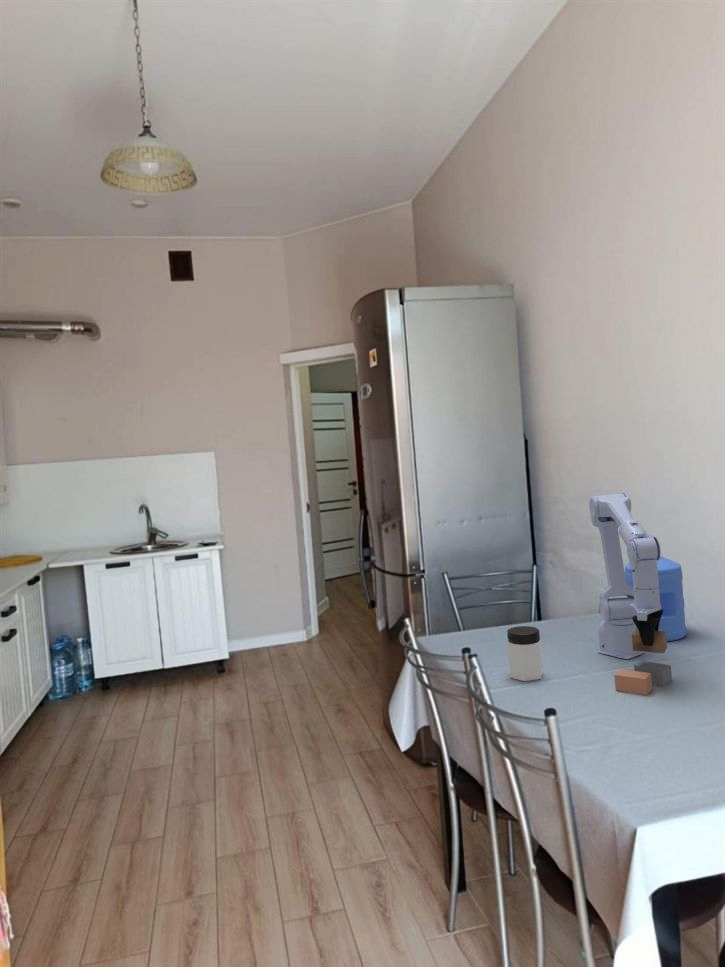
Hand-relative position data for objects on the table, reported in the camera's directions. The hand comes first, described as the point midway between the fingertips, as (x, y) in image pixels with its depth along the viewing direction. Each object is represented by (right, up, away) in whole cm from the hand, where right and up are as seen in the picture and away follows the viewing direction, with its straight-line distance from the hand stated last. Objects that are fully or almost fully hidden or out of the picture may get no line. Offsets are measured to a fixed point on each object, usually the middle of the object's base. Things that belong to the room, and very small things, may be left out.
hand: (650, 642), depth 160 cm
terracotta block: (-6, -10, -4) cm, 12 cm away
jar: (-27, -12, +12) cm, 32 cm away
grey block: (+1, -10, 0) cm, 10 cm away
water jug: (+18, -7, +36) cm, 41 cm away
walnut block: (0, -2, 0) cm, 2 cm away
